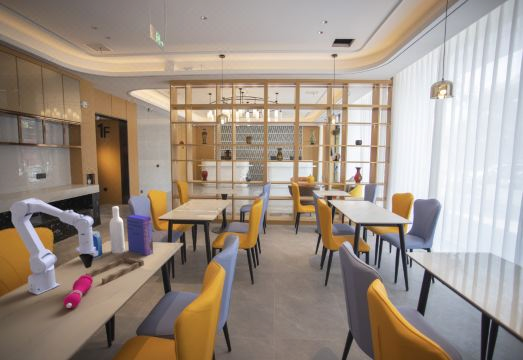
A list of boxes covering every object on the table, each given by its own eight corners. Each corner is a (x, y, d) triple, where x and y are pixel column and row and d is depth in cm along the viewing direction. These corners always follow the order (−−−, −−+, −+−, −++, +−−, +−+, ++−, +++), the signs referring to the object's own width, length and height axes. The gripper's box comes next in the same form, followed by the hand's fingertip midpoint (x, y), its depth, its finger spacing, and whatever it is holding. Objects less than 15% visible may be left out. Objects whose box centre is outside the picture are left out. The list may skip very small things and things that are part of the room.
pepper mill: (87, 290, 123) (70, 317, 104) (73, 283, 121) (53, 310, 102) (97, 278, 124) (82, 303, 105) (83, 271, 121) (65, 295, 102)
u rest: (104, 283, 126) (104, 279, 126) (86, 277, 133) (85, 273, 132) (143, 264, 148) (143, 260, 147) (126, 260, 154) (126, 256, 153)
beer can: (105, 255, 161) (103, 230, 160) (95, 260, 153) (93, 235, 151) (93, 254, 162) (91, 230, 160) (83, 260, 154) (80, 234, 152)
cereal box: (153, 253, 164) (151, 217, 162) (146, 255, 160) (144, 219, 157) (135, 248, 172) (133, 214, 169) (128, 251, 168) (126, 215, 165)
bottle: (114, 254, 162) (111, 208, 159) (109, 251, 167) (106, 207, 164) (127, 250, 169) (124, 206, 165) (121, 247, 173) (119, 204, 170)
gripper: (103, 240, 125) (105, 266, 127) (85, 236, 131) (87, 261, 133) (88, 245, 119) (91, 272, 120) (70, 240, 125) (72, 267, 126)
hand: (88, 267), depth 126 cm, fingers closed
